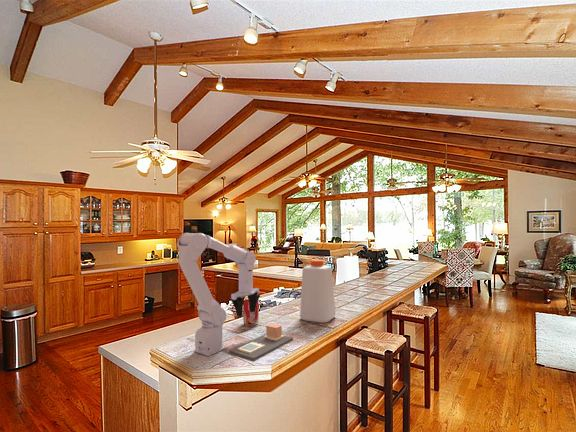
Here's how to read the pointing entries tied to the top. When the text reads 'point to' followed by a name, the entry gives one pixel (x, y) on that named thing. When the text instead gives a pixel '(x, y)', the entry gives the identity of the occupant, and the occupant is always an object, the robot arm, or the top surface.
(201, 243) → the robot arm
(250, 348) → the photo frame
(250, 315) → the soda can
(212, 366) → the top surface
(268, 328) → the stub
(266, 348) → the mat
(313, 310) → the plastic bottle
